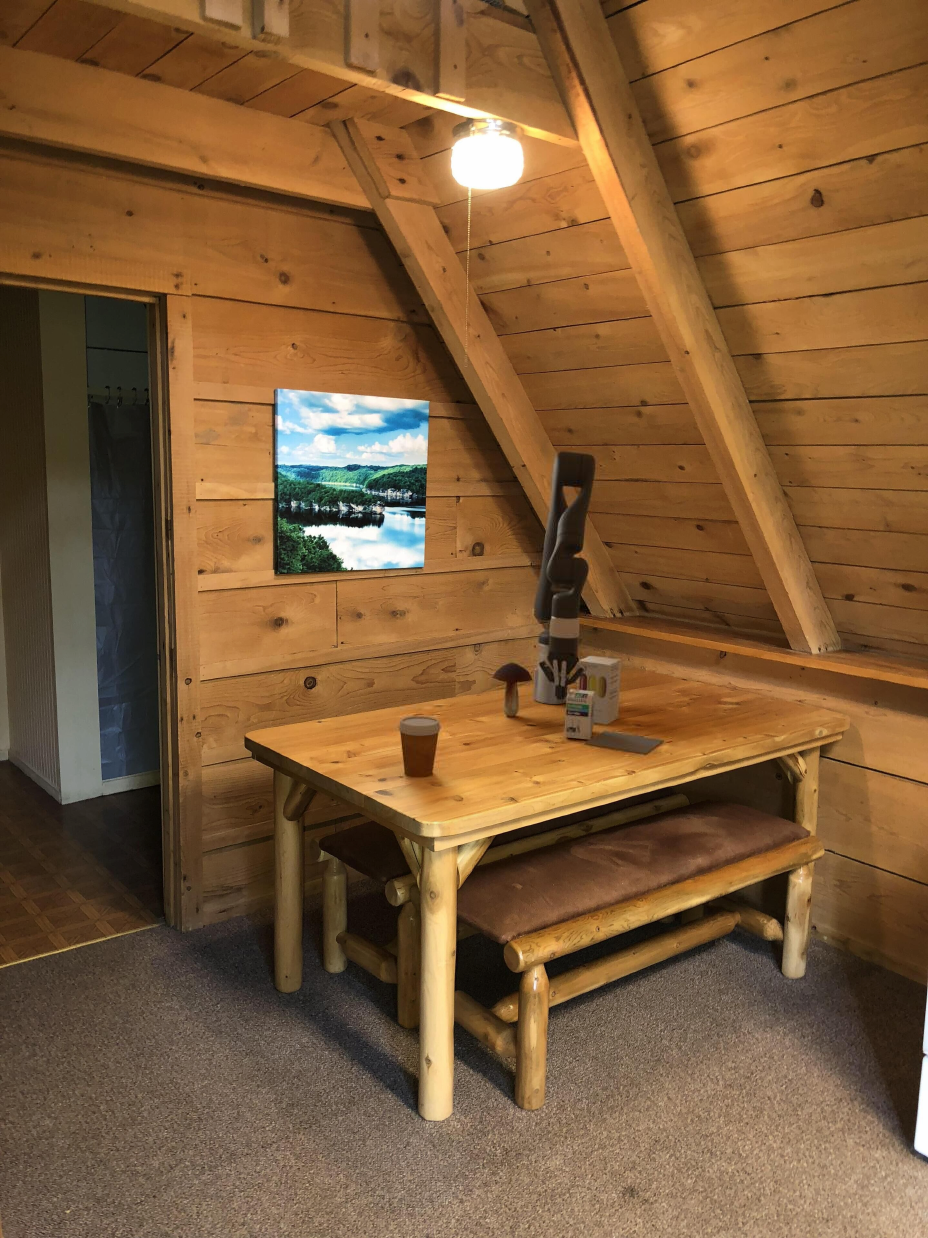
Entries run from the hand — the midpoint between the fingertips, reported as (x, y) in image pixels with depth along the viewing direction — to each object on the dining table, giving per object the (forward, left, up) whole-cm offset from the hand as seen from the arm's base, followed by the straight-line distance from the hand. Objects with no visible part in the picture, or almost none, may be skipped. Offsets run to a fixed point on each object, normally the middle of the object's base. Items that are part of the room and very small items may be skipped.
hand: (560, 699), depth 259 cm
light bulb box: (+6, 0, -9) cm, 10 cm away
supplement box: (+4, +18, -9) cm, 20 cm away
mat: (+18, 0, -9) cm, 20 cm away
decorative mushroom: (-17, +7, -9) cm, 21 cm away
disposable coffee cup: (-12, -50, -9) cm, 53 cm away
